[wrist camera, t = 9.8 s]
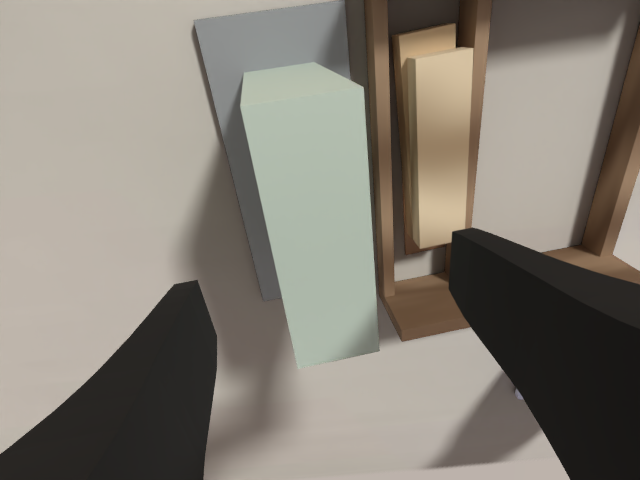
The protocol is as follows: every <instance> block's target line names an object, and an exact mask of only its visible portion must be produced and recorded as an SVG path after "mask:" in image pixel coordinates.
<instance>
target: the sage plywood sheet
mask: <svg viewBox="0 0 640 480" xmlns="http://www.w3.org/2000/svg"><path fill="white" fill-rule="evenodd" d="M240 108H241V112H242V117H243V122H244V126H245V131H246V135H247V140H248V144H249V149H250V154H251V158H252V163H253V167H254V172H255V176H256V181H257V185H258V190H259V195H260V199H261V204H262V208H263V213H264V217H265V222H266V226H267V231H268V236H269V240H270V245H271V249H272V254H273V258H274V263H275V268H276V272H277V277H278V281H279V286H280V290H281V295H282V299H283V304H284V309H285V313H286V318H287V322H288V327H289V331H290V336H291V340H292V345H293V350H294V354H295V359H296V363H297V368H298V369H300V368H304V367H309V366H314V365H318V364H323V363H327V362H332V361H337V360H341V359H346V358H351V357H355V356H360V355H364V354H369V353H374V352H378V351H380V350H379V334H378V317H377V301H376V284H375V267H374V251H373V234H372V218H371V201H370V185H369V168H368V151H367V135H366V118H365V102H364V87H362V86H360V85H359V84H357V83H355V82H353V81H351V80H349V79H347V78H345V77H343V76H341V75H339V74H337V73H335V72H333V71H331V70H329V69H327V68H325V67H323V66H321V65H319V64H317V63H315V62H311V63H305V64H298V65H291V66H285V67H278V68H272V69H265V70H258V71H252V72H245V73H244V76H243V85H242V94H241V104H240Z"/></svg>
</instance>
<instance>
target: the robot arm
mask: <svg viewBox="0 0 640 480" xmlns="http://www.w3.org/2000/svg"><path fill="white" fill-rule="evenodd" d="M448 289H449V291H450V293H451V295H452V297H453V298H454V300H455V302H456V304H457V306H458V308H459V309H460V311H461V313H462V315H463V316H464V318H465V319H466V321H467V322H468V324H469V325H470V326H471V328H472V329H473V330H474V332H475V333H476V334H477V336H478V337H479V339H480V340H481V341H482V343H483V344H484V345H485V346H486V348H487V349H488V350H489V352H490V353H491V354H492V356H493V357H494V358H495V360H496V361H497V362H498V364H499V365H500V366H501V368H502V369H503V370H504V372H505V373H506V374H507V376H508V377H509V378H510V380H511V381H512V382H513V384H514V385H515V387H516V391H515V396H516V397H517V398H518V399H520V400H523V399H524V400H525V402H526V404H527V405H528V407H529V409H530V410H531V412H532V414H533V415H534V417H535V419H536V420H537V422H538V423H539V425H540V427H541V428H542V430H543V432H544V434H545V435H546V437H547V439H548V441H549V442H550V444H551V446H552V448H553V449H554V451H555V453H556V455H557V456H558V458H559V460H560V462H561V463H562V465H563V467H564V468H565V471H566V472H567V474H568V476H569V478H570V480H640V284H637V283H633V282H630V281H626V280H622V279H619V278H615V277H611V276H608V275H604V274H601V273H598V272H594V271H591V270H588V269H585V268H582V267H579V266H576V265H573V264H570V263H567V262H564V261H562V260H559V259H556V258H553V257H551V256H548V255H545V254H543V253H540V252H537V251H535V250H532V249H530V248H527V247H524V246H522V245H519V244H517V243H514V242H512V241H509V240H507V239H504V238H501V237H499V236H496V235H494V234H491V233H488V232H485V231H482V230H479V229H476V228H467V229H462V230H457V231H452V241H451V257H450V272H449V288H448ZM216 371H217V335H216V332H215V329H214V326H213V323H212V321H211V318H210V315H209V312H208V309H207V306H206V303H205V300H204V298H203V295H202V292H201V289H200V286H199V283H198V280H195V281H189V282H184V283H179V284H174V285H173V287H172V288H171V289H170V290H169V291H168V292H167V293H166V295H165V296H164V297H163V298H162V299H161V301H160V302H159V303H158V304H157V305H156V307H155V308H154V309H153V310H152V311H151V313H150V314H149V315H148V316H147V317H146V318H145V320H144V321H143V322H142V323H141V324H140V325H139V327H138V328H137V329H136V330H135V331H134V332H133V334H132V335H131V336H130V337H129V338H128V339H127V340H126V341H125V342H124V343H123V345H122V346H121V347H120V348H119V349H118V350H117V351H116V352H115V353H114V354H113V355H112V356H111V357H110V358H109V359H108V361H107V362H106V363H105V364H104V365H103V366H102V367H101V368H100V369H99V370H98V371H97V372H96V373H95V374H94V375H93V376H92V377H91V378H90V379H89V380H88V381H87V382H86V383H85V384H84V385H82V386H81V387H80V388H79V389H78V390H77V391H76V392H75V393H74V394H73V395H71V396H70V397H69V398H68V399H67V400H66V401H65V402H64V403H63V404H62V405H60V406H59V407H58V408H57V409H56V410H55V411H53V412H52V413H51V414H50V415H49V416H47V417H46V418H45V419H44V420H42V421H41V422H40V423H39V424H37V425H36V426H35V427H34V428H33V429H31V430H30V431H29V432H28V433H26V434H25V435H24V436H23V437H21V438H20V439H19V440H18V441H16V442H15V443H14V444H13V445H12V446H10V447H9V448H8V449H6V450H5V451H4V452H3V453H1V454H0V480H203V475H204V462H205V451H206V444H207V437H208V430H209V422H210V415H211V408H212V401H213V394H214V386H215V379H216Z"/></svg>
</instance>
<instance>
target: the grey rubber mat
mask: <svg viewBox="0 0 640 480" xmlns="http://www.w3.org/2000/svg"><path fill="white" fill-rule="evenodd" d="M194 24H195V28H196V32H197V36H198V40H199V44H200V48H201V52H202V56H203V60H204V64H205V68H206V72H207V76H208V80H209V84H210V89H211V93H212V97H213V101H214V105H215V109H216V113H217V117H218V121H219V125H220V129H221V133H222V137H223V141H224V145H225V149H226V153H227V157H228V161H229V165H230V169H231V173H232V177H233V181H234V185H235V189H236V193H237V197H238V201H239V205H240V209H241V213H242V217H243V221H244V225H245V229H246V233H247V237H248V241H249V245H250V249H251V253H252V257H253V262H254V266H255V270H256V274H257V278H258V282H259V286H260V290H261V294H262V298H263V301H268V300H273V299H278V298H282V295H281V290H280V286H279V281H278V277H277V272H276V268H275V263H274V258H273V254H272V249H271V245H270V240H269V236H268V231H267V226H266V222H265V217H264V213H263V208H262V204H261V199H260V195H259V190H258V185H257V181H256V176H255V172H254V167H253V163H252V158H251V154H250V149H249V144H248V140H247V135H246V131H245V126H244V122H243V117H242V112H241V108H240V104H241V94H242V85H243V76H244V73H245V72H252V71H258V70H265V69H272V68H278V67H285V66H291V65H298V64H305V63H311V62H315V63H317V64H319V65H321V66H323V67H325V68H327V69H329V70H331V71H333V72H335V73H337V74H339V75H341V76H343V77H345V78H347V79H349V80H350V66H349V52H348V39H347V25H346V11H345V0H340V1H333V2H325V3H318V4H310V5H303V6H296V7H288V8H281V9H273V10H266V11H259V12H251V13H244V14H236V15H229V16H221V17H214V18H207V19H199V20H194Z"/></svg>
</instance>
